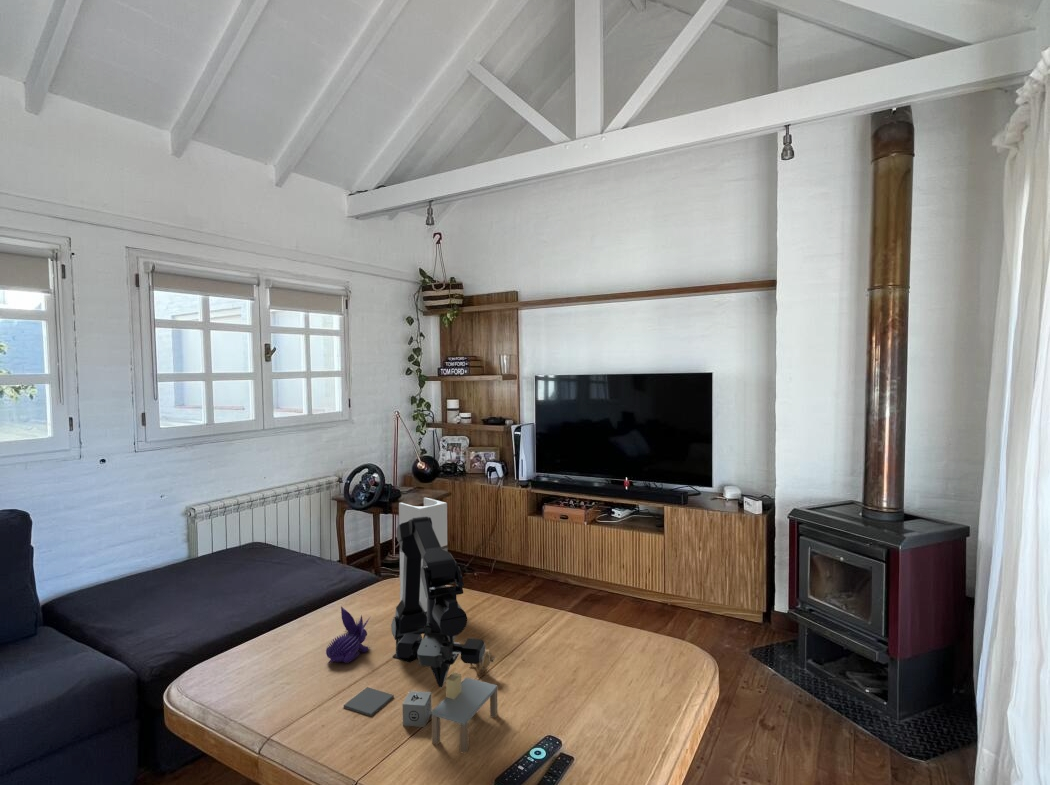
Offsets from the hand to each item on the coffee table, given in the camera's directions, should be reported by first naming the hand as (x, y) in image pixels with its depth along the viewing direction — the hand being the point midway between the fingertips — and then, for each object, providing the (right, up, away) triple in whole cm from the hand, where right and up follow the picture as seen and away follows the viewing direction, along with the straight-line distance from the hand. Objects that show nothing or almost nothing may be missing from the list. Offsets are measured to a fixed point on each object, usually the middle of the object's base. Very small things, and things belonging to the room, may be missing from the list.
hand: (441, 686), depth 121 cm
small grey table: (+6, -9, -1) cm, 10 cm away
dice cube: (-6, -9, +2) cm, 11 cm away
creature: (-30, -8, +31) cm, 44 cm away
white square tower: (-15, -7, +59) cm, 62 cm away
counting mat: (-18, -8, +9) cm, 22 cm away
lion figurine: (+6, -8, +22) cm, 24 cm away
